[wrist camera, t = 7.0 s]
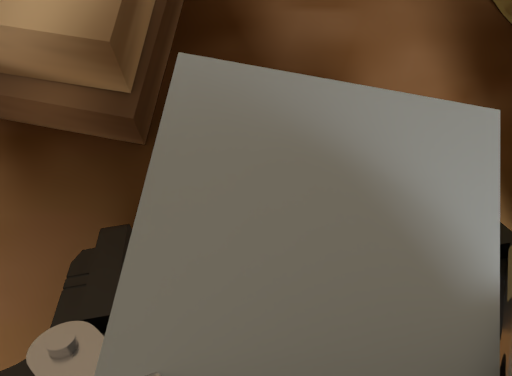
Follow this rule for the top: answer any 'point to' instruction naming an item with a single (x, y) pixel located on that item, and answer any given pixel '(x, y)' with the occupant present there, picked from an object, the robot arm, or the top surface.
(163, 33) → the tower base
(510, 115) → the top surface
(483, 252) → the block
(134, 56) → the tower top
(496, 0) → the potted cactus
